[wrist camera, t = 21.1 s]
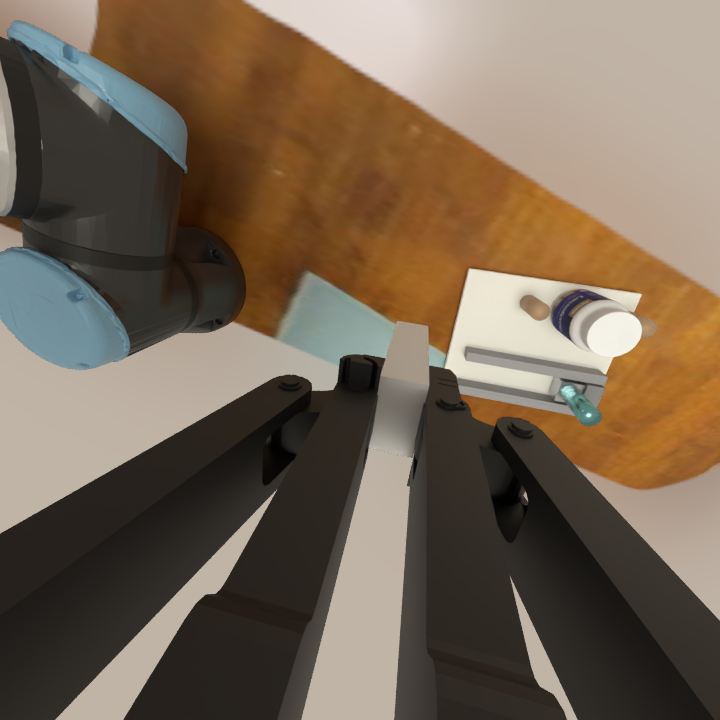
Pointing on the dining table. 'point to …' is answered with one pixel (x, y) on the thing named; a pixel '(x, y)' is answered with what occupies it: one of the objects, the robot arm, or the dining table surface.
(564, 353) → the board
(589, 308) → the pill bottle
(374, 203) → the dining table surface
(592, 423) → the pin
